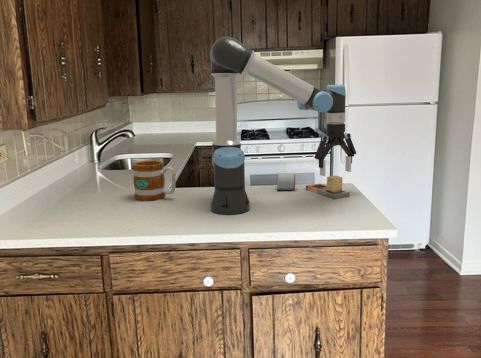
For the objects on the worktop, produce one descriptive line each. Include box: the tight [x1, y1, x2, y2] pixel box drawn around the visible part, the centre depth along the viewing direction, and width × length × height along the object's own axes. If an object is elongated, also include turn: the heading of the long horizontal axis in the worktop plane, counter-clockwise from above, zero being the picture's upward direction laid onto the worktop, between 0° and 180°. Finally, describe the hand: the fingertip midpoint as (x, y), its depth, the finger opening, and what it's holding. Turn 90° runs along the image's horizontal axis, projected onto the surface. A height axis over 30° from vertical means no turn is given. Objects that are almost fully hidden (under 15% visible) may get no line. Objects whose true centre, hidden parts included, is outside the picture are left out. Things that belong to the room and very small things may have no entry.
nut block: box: [326, 175, 343, 194], centre depth 197 cm, size 4×4×8 cm
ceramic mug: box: [276, 172, 296, 191], centre depth 211 cm, size 11×8×8 cm
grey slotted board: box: [305, 183, 351, 200], centre depth 202 cm, size 8×20×2 cm, turn 28°
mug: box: [131, 160, 176, 202], centre depth 199 cm, size 20×14×15 cm
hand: (335, 173), depth 196 cm, fingers open, 13 cm apart
